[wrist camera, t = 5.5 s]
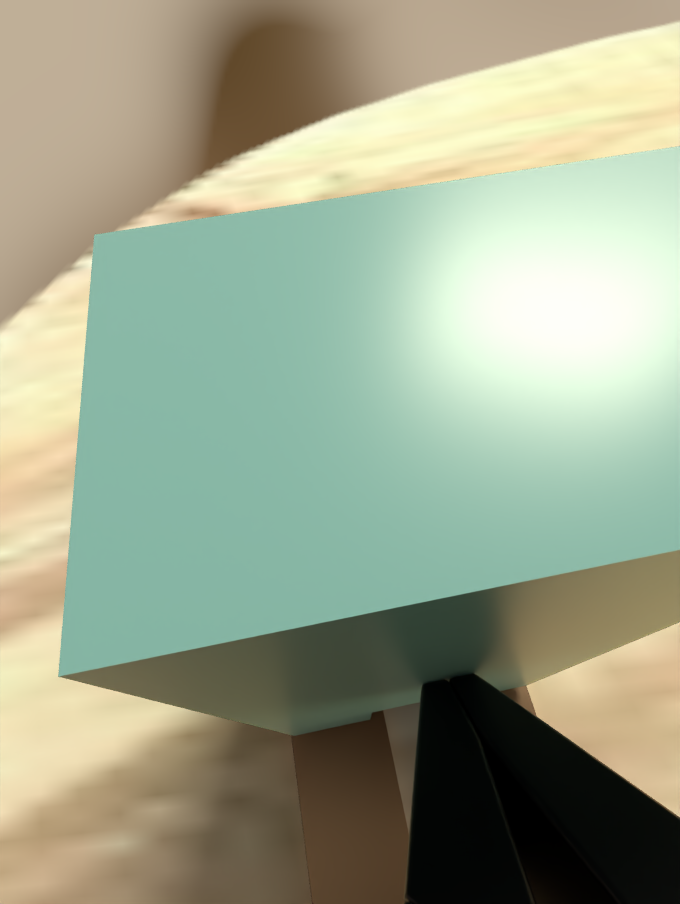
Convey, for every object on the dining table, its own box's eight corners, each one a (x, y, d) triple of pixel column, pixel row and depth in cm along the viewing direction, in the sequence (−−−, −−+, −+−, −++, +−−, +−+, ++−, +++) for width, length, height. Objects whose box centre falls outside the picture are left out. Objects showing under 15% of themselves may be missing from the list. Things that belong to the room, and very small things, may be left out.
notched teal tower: (525, 685, 14) (1027, 478, 3) (294, 735, 13) (59, 676, 3) (477, 544, 16) (699, 142, 5) (274, 584, 15) (94, 235, 5)
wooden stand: (701, 1236, 10) (952, 1593, 6) (370, 1335, 9) (378, 1798, 5) (435, 442, 19) (456, 354, 15) (261, 474, 18) (232, 392, 14)
